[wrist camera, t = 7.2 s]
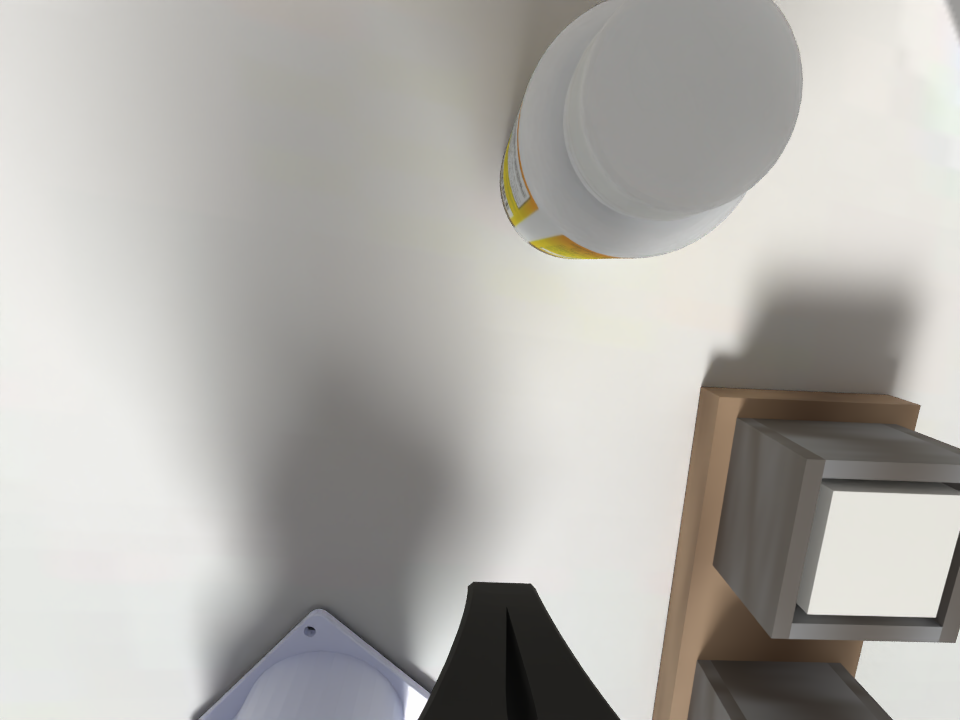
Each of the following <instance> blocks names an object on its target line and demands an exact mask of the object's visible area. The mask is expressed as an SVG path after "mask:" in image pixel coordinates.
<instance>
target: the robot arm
mask: <svg viewBox="0 0 960 720" xmlns="http://www.w3.org/2000/svg"><path fill="white" fill-rule="evenodd" d="M310 626H311V627H313V628H314V629H315V630H310V629H308V628H307V627H310ZM198 720H620V718H619V717H618V716H617V714H616V713H615V712H614V711H613V709H612V708H611V707H610V705H609V704H608V703H607V701H606V700H605V699H604V697H603V696H602V695H601V693H600V692H599V691H598V689H597V688H596V687H595V685H594V684H593V683H592V681H591V680H590V678H589V677H588V675H587V674H586V673H585V671H584V670H583V668H582V667H581V665H580V664H579V662H578V661H577V659H576V658H575V656H574V655H573V653H572V651H571V650H570V648H569V647H568V645H567V644H566V642H565V641H564V639H563V637H562V636H561V634H560V633H559V631H558V629H557V628H556V626H555V624H554V622H553V621H552V619H551V617H550V616H549V614H548V612H547V610H546V608H545V607H544V605H543V603H542V601H541V599H540V597H539V595H538V593H537V591H536V589H535V588H534V587H533V586H532V584H524V583H493V582H473V583H472V584H470V585H469V586H468V594H467V600H466V605H465V609H464V613H463V616H462V619H461V623H460V626H459V629H458V632H457V634H456V637H455V639H454V642H453V645H452V647H451V650H450V653H449V655H448V658H447V660H446V662H445V665H444V667H443V669H442V671H441V673H440V675H439V677H438V680H437V682H436V684H435V686H434V688H433V690H432V692H431V694H430V693H429V692H428V691H426V690H425V689H424V688H423V687H421V686H420V685H419V684H418V683H416V682H415V681H414V680H413V679H411V678H410V677H409V676H408V675H406V674H405V673H404V672H403V671H401V670H400V669H399V668H397V667H396V666H395V665H394V664H392V663H391V662H390V661H389V660H387V659H386V658H385V657H384V656H382V655H381V654H380V653H379V652H377V651H376V650H375V649H374V648H372V647H371V646H370V645H369V644H367V643H366V642H365V641H363V640H362V639H361V638H360V637H358V636H357V635H356V634H355V633H353V632H352V631H351V630H350V629H348V628H347V627H346V626H345V625H343V624H342V623H341V622H340V621H338V620H337V619H336V618H335V617H333V616H332V615H331V614H329V613H328V612H327V611H325V610H323V609H315V610H313V611H312V612H310V613H309V614H308V615H307V616H306V617H305V618H304V619H303V620H302V621H301V622H300V623H299V624H298V625H297V626H296V627H295V628H294V629H293V630H291V631H290V632H289V633H288V634H287V635H286V636H285V637H284V638H283V639H282V640H281V641H280V642H279V643H278V644H277V645H276V646H275V647H274V648H273V649H272V650H271V651H270V652H268V653H267V654H266V655H265V656H264V657H263V658H262V659H261V660H260V661H259V662H258V663H257V664H256V665H255V666H254V667H253V668H252V669H251V670H250V671H249V672H248V673H246V674H245V675H244V676H243V677H242V678H241V679H240V680H239V681H238V682H237V683H236V684H235V685H234V686H233V687H232V688H231V689H230V690H229V691H228V692H227V693H226V694H225V695H223V696H222V697H221V698H220V699H219V700H218V701H217V702H216V703H215V704H214V705H213V706H212V707H211V708H210V709H209V710H208V711H207V712H206V713H205V714H204V715H203V716H201V717H200V718H199V719H198Z"/></svg>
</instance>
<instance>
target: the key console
mask: <svg viewBox="0 0 960 720" xmlns="http://www.w3.org/2000/svg"><path fill="white" fill-rule="evenodd" d="M920 406H921V405H918V404H915V403H912V402H909V401H906V400H902V399H899V398H896V397H893V396H890V395H880V394H856V393H832V392H809V391H785V390H762V389H738V388H715V387H701V392H700V399H699V405H698V412H697V419H696V426H695V433H694V439H693V446H692V453H691V460H690V467H689V474H688V480H687V487H686V494H685V501H684V508H683V514H682V521H681V528H680V535H679V542H678V548H677V555H676V562H675V569H674V576H673V582H672V589H671V596H670V603H669V610H668V616H667V623H666V630H665V637H664V644H663V650H662V657H661V664H660V671H659V678H658V684H657V691H656V698H655V705H654V712H653V718H652V720H893V719H892V718H891V717H890V716H889V715H888V714H887V713H886V712H885V711H884V710H883V709H882V708H881V706H880V705H879V704H878V703H877V702H876V701H875V700H874V699H873V698H872V697H871V696H870V695H869V693H868V692H867V691H866V690H865V689H864V688H863V687H862V686H861V685H860V684H859V683H858V682H857V680H856V679H855V673H856V669H857V665H858V661H859V657H860V653H861V649H862V645H863V641H901V642H945V643H956V639H957V636H958V632H959V629H960V531H959V535H958V538H957V542H956V546H955V549H954V553H953V557H952V560H951V564H950V568H949V571H948V575H947V579H946V582H945V586H944V589H943V593H942V597H941V600H940V604H939V608H938V611H937V615H936V618H934V617H893V616H853V615H813V614H806V612H805V611H804V610H803V609H802V608H801V607H800V606H799V605H798V604H797V603H796V602H797V597H798V592H799V587H800V583H801V578H802V573H803V568H804V563H805V558H806V554H807V549H808V544H809V539H810V534H811V529H812V524H813V520H814V515H815V510H816V505H817V500H818V495H819V491H820V486H821V481H822V478H836V479H864V480H892V481H920V482H941V483H943V484H945V485H947V486H949V487H952V488H954V489H956V490H958V491H960V449H959V448H957V447H954V446H951V445H949V444H946V443H944V442H941V441H939V440H936V439H933V438H931V437H928V436H926V435H923V434H920V433H918V432H915V431H914V430H915V426H916V422H917V418H918V414H919V410H920Z"/></svg>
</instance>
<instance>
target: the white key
mask: <svg viewBox="0 0 960 720" xmlns="http://www.w3.org/2000/svg"><path fill="white" fill-rule="evenodd" d="M959 531H960V491H958V490H956V489H954V488H952V487H949V486H947V485H945V484H943V483H941V482H920V481H892V480H864V479H836V478H822V481H821V486H820V491H819V495H818V500H817V505H816V510H815V515H814V520H813V524H812V529H811V534H810V539H809V544H808V549H807V554H806V558H805V563H804V568H803V573H802V578H801V583H800V587H799V592H798V597H797V602H796V603H797V604H798V605H799V606H800V607H801V608H802V609H803V610H804V611H805V612H806V614H813V615H853V616H893V617H934V618H936V615H937V611H938V608H939V604H940V600H941V597H942V593H943V589H944V586H945V582H946V579H947V575H948V571H949V568H950V564H951V560H952V557H953V553H954V549H955V546H956V542H957V538H958V535H959Z"/></svg>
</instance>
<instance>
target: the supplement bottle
mask: <svg viewBox="0 0 960 720" xmlns="http://www.w3.org/2000/svg"><path fill="white" fill-rule="evenodd" d="M802 85H803V76H802V64H801V59H800V53H799V49H798V46H797V43H796V40H795V37H794V35H793V32H792V29H791V27H790V25H789V23H788V22H787V20H786V18H785V16H784V15H783V13H782V11H781V10H780V9H779V8H778V7H777V5H776V4H775V3H774V2H773V1H772V0H608V1H605V2H603V3H601V4H599V5H597V6H595V7H593V8H591V9H590V10H588V11H587V12H585V13H583V14H582V15H580V16H579V17H578V18H576V19H575V20H574V21H573V22H571V23H570V24H569V25H568V26H567V27H566V28H565V29H564V30H563V31H562V32H561V33H560V34H559V35H558V36H557V37H556V38H555V40H554V41H553V42H552V43H551V45H550V46H549V47H548V49H547V50H546V52H545V53H544V55H543V56H542V58H541V59H540V61H539V63H538V65H537V67H536V69H535V71H534V73H533V75H532V77H531V79H530V81H529V83H528V86H527V89H526V91H525V94H524V97H523V100H522V103H521V106H520V109H519V112H518V115H517V118H516V121H515V124H514V127H513V130H512V133H511V136H510V139H509V142H508V145H507V147H506V151H505V154H504V157H503V162H502V166H501V173H500V191H501V199H502V202H503V206H504V210H505V212H506V214H507V217H508V219H509V221H510V222H511V224H512V226H513V227H514V229H515V230H516V231H517V233H518V234H519V235H520V236H521V237H522V238H523V239H524V240H525V241H526V242H527V243H529V244H530V245H531V246H533V247H534V248H536V249H537V250H539V251H541V252H543V253H546V254H548V255H552V256H555V257H560V258H566V259H609V258H647V257H652V256H658V255H663V254H667V253H670V252H673V251H676V250H679V249H681V248H683V247H685V246H687V245H690V244H692V243H693V242H695V241H697V240H699V239H701V238H702V237H704V236H705V235H707V234H708V233H709V232H711V231H712V230H713V229H714V228H716V227H717V226H718V225H719V224H720V223H721V222H722V221H724V220H725V219H726V218H727V216H728V215H729V214H730V213H731V212H732V211H733V210H734V209H735V207H736V206H737V205H738V204H739V203H740V201H741V200H742V198H743V197H744V195H745V194H746V192H747V191H748V190H749V189H750V188H752V187H753V186H754V185H755V184H756V183H757V182H758V181H760V180H761V179H762V178H763V177H764V176H765V175H766V174H767V172H768V171H769V170H770V169H771V168H772V167H773V166H774V164H775V163H776V161H777V160H778V158H779V157H780V155H781V154H782V152H783V150H784V149H785V147H786V145H787V143H788V141H789V139H790V137H791V135H792V132H793V130H794V127H795V124H796V120H797V117H798V113H799V109H800V104H801V99H802Z"/></svg>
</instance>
